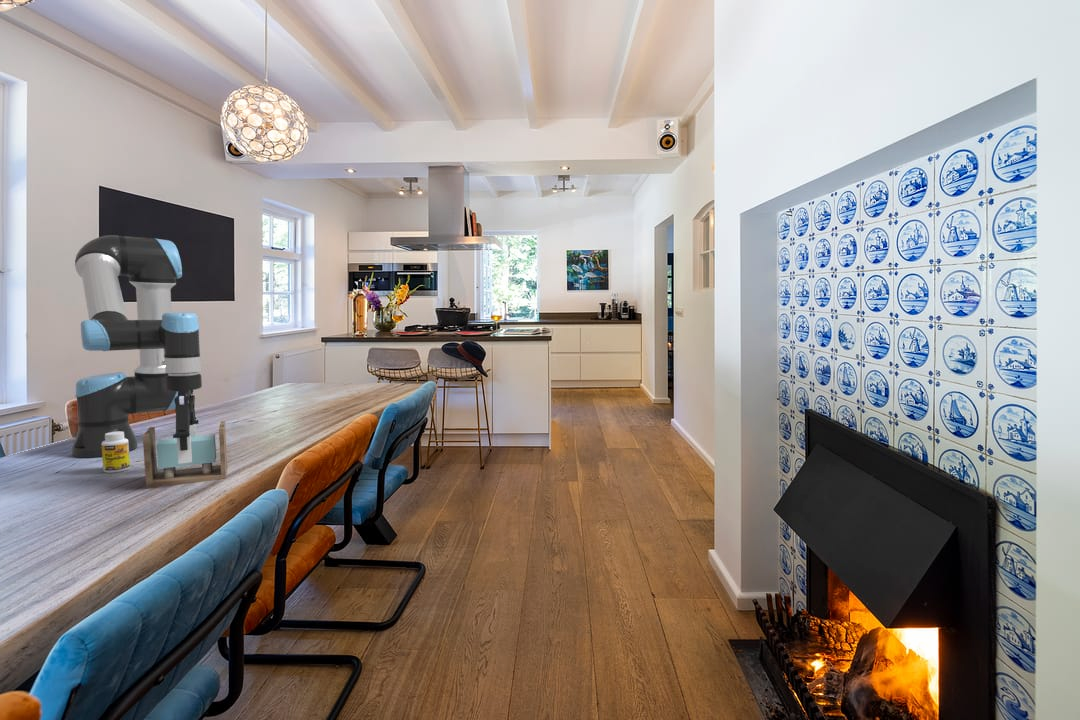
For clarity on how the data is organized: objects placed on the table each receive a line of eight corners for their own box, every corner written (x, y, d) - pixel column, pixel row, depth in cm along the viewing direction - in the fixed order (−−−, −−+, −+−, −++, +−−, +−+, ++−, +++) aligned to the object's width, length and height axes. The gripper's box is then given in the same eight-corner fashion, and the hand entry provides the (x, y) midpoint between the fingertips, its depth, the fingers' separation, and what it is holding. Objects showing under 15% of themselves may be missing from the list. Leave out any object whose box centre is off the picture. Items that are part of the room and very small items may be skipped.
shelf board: (160, 462, 132) (159, 439, 131) (216, 456, 138) (215, 434, 137) (158, 469, 127) (156, 445, 126) (215, 462, 133) (214, 439, 132)
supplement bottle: (101, 474, 134) (99, 436, 133) (105, 469, 139) (102, 432, 138) (129, 471, 137) (126, 433, 136) (131, 466, 142) (128, 429, 141)
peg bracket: (153, 476, 133) (149, 427, 132) (227, 467, 141) (225, 421, 140) (146, 488, 124) (142, 435, 123) (225, 478, 132) (223, 428, 131)
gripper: (171, 369, 139) (176, 446, 141) (157, 380, 118) (163, 471, 120) (204, 368, 143) (208, 442, 145) (196, 378, 121) (201, 466, 123)
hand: (188, 455), depth 132 cm, fingers open, 13 cm apart
